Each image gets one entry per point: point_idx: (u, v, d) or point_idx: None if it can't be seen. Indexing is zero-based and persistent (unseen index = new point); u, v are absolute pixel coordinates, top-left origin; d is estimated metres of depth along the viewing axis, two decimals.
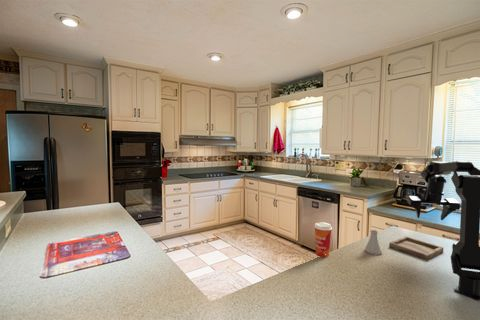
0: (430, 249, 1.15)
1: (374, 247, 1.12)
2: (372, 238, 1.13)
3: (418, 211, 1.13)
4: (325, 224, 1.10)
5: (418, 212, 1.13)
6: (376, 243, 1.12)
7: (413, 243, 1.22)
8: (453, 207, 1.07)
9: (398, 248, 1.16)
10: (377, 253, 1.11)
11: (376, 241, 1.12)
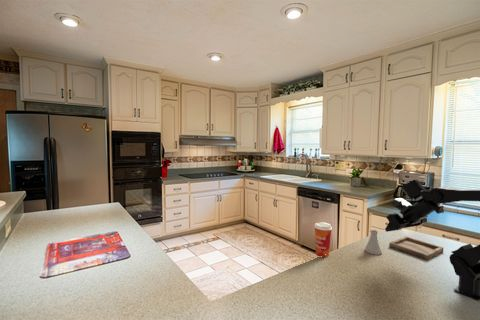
0: (430, 249, 1.15)
1: (374, 247, 1.12)
2: (372, 238, 1.13)
3: None
4: (325, 224, 1.10)
5: (393, 230, 1.00)
6: (376, 243, 1.12)
7: (413, 243, 1.22)
8: (422, 223, 1.02)
9: (398, 248, 1.16)
10: (377, 253, 1.11)
11: (376, 241, 1.12)
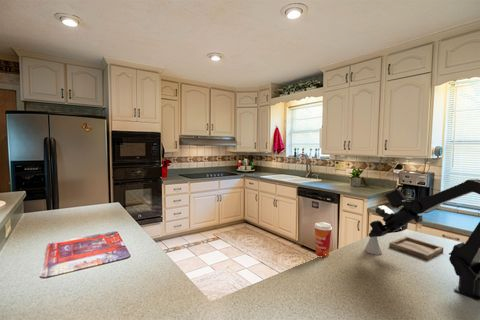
0: (430, 249, 1.15)
1: (374, 247, 1.12)
2: (372, 238, 1.13)
3: (377, 236, 1.06)
4: (325, 224, 1.10)
5: (376, 236, 1.07)
6: (376, 243, 1.12)
7: (413, 243, 1.22)
8: (402, 230, 1.08)
9: (398, 248, 1.16)
10: (377, 253, 1.11)
11: (376, 241, 1.12)
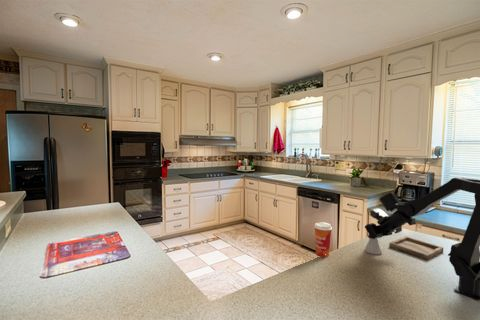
0: (430, 249, 1.15)
1: (374, 247, 1.12)
2: None
3: None
4: (325, 224, 1.10)
5: None
6: (376, 243, 1.12)
7: (413, 243, 1.22)
8: (397, 232, 1.11)
9: (398, 248, 1.16)
10: (377, 253, 1.11)
11: (376, 241, 1.12)
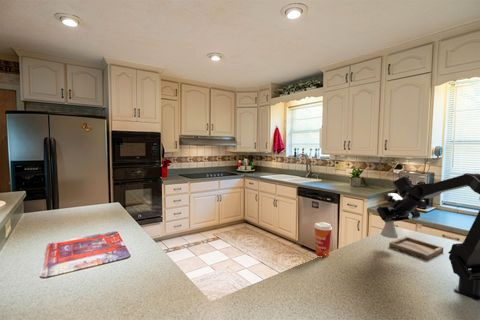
0: (430, 249, 1.15)
1: (388, 231, 1.14)
2: (387, 222, 1.15)
3: None
4: (325, 224, 1.10)
5: (389, 221, 1.13)
6: (392, 227, 1.14)
7: (413, 243, 1.22)
8: (414, 217, 1.11)
9: (398, 248, 1.16)
10: (391, 237, 1.13)
11: (391, 225, 1.14)
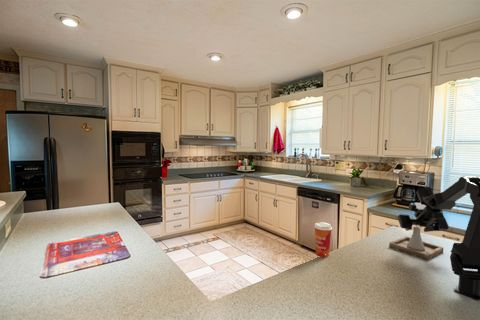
0: (430, 249, 1.15)
1: (413, 242, 1.15)
2: (413, 234, 1.16)
3: (408, 229, 1.14)
4: (325, 224, 1.10)
5: (408, 229, 1.14)
6: (417, 239, 1.15)
7: None
8: (441, 229, 1.08)
9: (398, 248, 1.16)
10: (416, 249, 1.14)
11: (417, 237, 1.15)
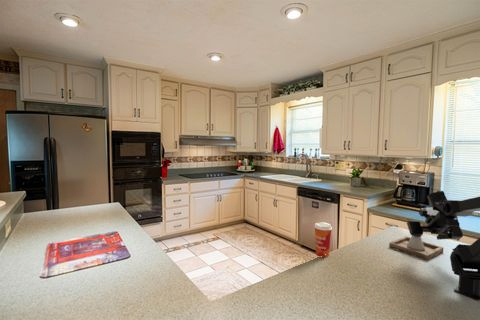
0: (430, 249, 1.15)
1: (413, 242, 1.15)
2: None
3: (417, 237, 1.05)
4: (325, 224, 1.10)
5: (416, 237, 1.06)
6: (417, 239, 1.15)
7: None
8: (455, 237, 1.00)
9: (398, 248, 1.16)
10: (416, 249, 1.14)
11: None
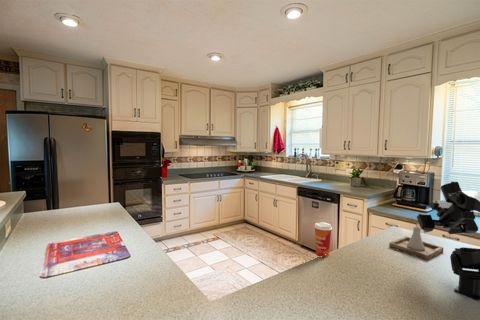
0: (430, 249, 1.15)
1: (413, 242, 1.15)
2: (413, 234, 1.16)
3: (427, 231, 0.98)
4: (325, 224, 1.10)
5: (427, 231, 0.99)
6: (417, 239, 1.15)
7: None
8: (469, 231, 0.93)
9: (398, 248, 1.16)
10: (416, 249, 1.14)
11: (417, 237, 1.15)
